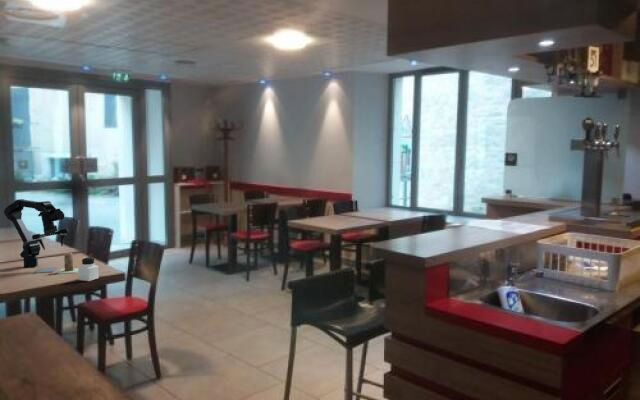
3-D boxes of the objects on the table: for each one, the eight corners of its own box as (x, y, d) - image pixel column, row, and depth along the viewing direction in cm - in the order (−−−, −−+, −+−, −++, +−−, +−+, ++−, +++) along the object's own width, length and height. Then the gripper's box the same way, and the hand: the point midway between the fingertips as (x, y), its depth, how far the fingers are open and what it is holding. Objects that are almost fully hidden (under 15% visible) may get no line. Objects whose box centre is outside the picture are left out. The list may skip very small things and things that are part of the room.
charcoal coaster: (33, 273, 285) (33, 272, 284) (38, 269, 294) (38, 268, 294) (52, 272, 287) (52, 271, 287) (57, 268, 297) (57, 267, 297)
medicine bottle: (98, 278, 274) (98, 256, 273) (89, 281, 268) (88, 259, 267) (88, 277, 277) (87, 255, 276) (78, 280, 270) (77, 258, 269)
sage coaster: (57, 273, 283) (57, 272, 283) (62, 269, 293) (61, 268, 293) (76, 272, 286) (76, 271, 286) (80, 269, 296) (80, 268, 296)
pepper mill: (65, 271, 286) (65, 254, 285) (64, 270, 290) (63, 253, 289) (74, 270, 289) (73, 253, 288) (72, 269, 292) (71, 252, 291)
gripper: (28, 225, 283) (34, 252, 283) (64, 219, 291) (70, 245, 291) (30, 225, 293) (36, 251, 294) (65, 219, 301) (71, 244, 301)
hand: (53, 248), depth 295 cm, fingers open, 9 cm apart
